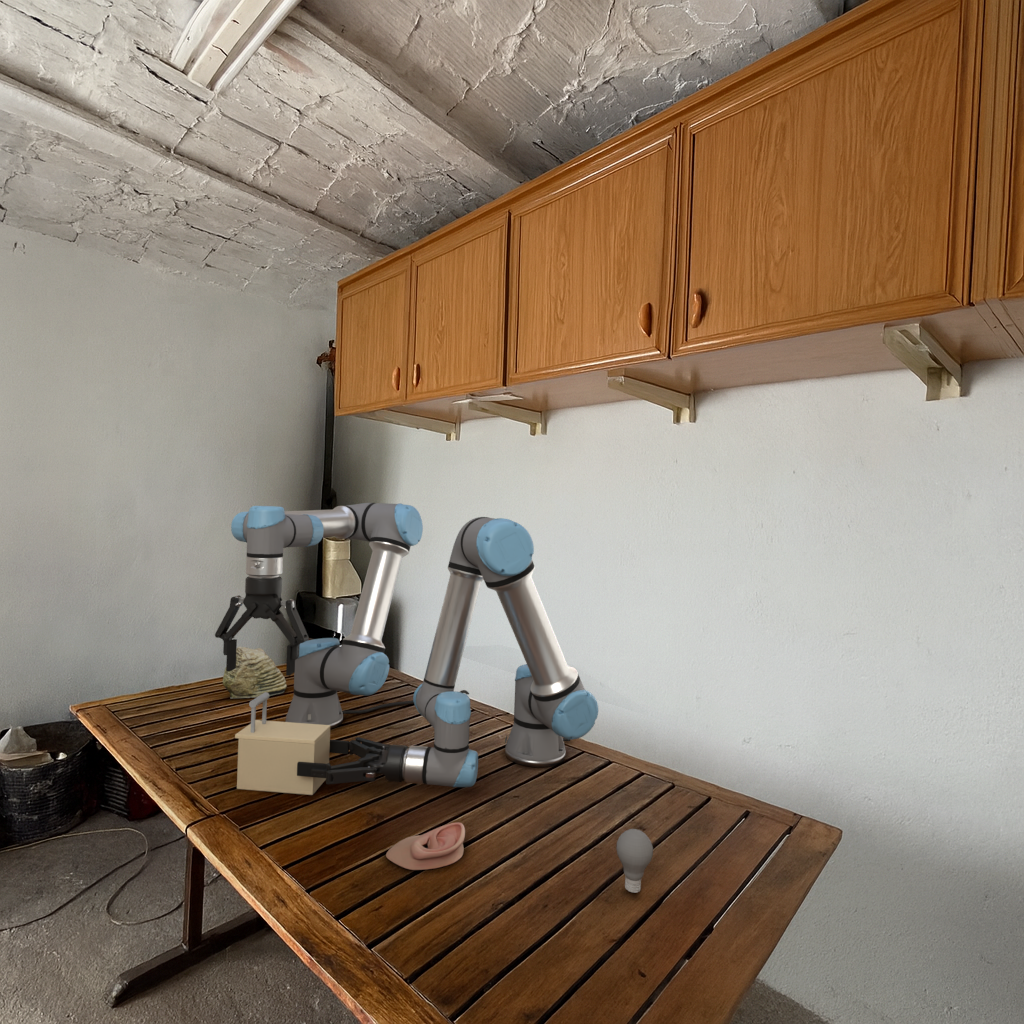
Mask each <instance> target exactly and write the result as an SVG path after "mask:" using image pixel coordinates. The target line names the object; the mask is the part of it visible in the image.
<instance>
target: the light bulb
mask: <svg viewBox="0 0 1024 1024" xmlns="http://www.w3.org/2000/svg"><path fill="white" fill-rule="evenodd" d="M615 849H616V854H617V857H618V859H619V861H620V863H621V865H622V867H623V873H624V874H623V875H624V876H625V878H624V888H625V890H627V891H628V892H630V893H634V894H635V893H639V892H640V891H641V889H642V887H641V886H642V879H643V877H644V875H645V871H646V868H647V867H648V866H649V864H650V863H651V861H652V859H653V855H654V847H653V843H652V841H651V838H649V836H648V835H647V834H646V833H645V832H643V831H642V830H641V829H636V828H629V829H627V830H625V831H623V832H622V833H621V834H620V835H619V837H618V839H617V841H616V847H615Z"/></svg>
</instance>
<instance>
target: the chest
mask: <svg viewBox="0 0 1024 1024" xmlns="http://www.w3.org/2000/svg"><path fill="white" fill-rule="evenodd" d="M330 740H331V729H329V730H328V731H327V732H326V733H325V734H324V735H323V736H322V737H321V738H320V739H319V740H318V741H317V742H316V743H315V744H306V743H293V742H279V741H266V740H253V739H239V738H238V747H237V770H236V771H237V772H236V773H237V775H236V790H246V791H257V792H271V793H283V794H296V795H308V796H313V795H314V794H315V793H316V792H317V790H319V788H320V787H321V786H322V785H323V783H324V782H326V778H318V777H305V776H297V763H298V762H311V763H324V764H327V763H330V753H329V752H330Z"/></svg>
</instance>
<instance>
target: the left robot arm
mask: <svg viewBox="0 0 1024 1024" xmlns="http://www.w3.org/2000/svg"><path fill="white" fill-rule="evenodd" d="M230 529H231V530H230V531H231V534H232V536H233V537H234V539H236V540H237V541H239V542H242V543H246V558H245V560H246V563H245V574H246V575H247V576H246V577H245V581H244V582H245V585H244V593H245V596H244V597H242V596H241V595H240V594H239V595H235V596H231V598H230V601H229V607H228V609H227V611H226V612H225V614H224V616H223V618H222V620H221V622H220V624H219V625H218V627H217V628H216V629H217V630H216V631H215V633H214V637H215V638H217V639H218V638H219V639H221V640H222V641H223V647H222V648H223V649H222V650H223V651H222V654H223V656H226V666H225V668H226V671H229V672H230V671H232V670H234V669H235V668H236V649H237V648H238V646H237V645H238V639H235V636H236V635H238V633H239V632H240V631H241V630H242V629H243V628H244V627H245V625H246V624H247V623H248V622H249V621H250V620H251V619H252V618H253V619H262V620H269V619H270V620H271V621H272V622H274V624H275V625H276V626H277V627H278V629H279V630H280V631H281V633H282V634H283V636H284V637H285V638H286V640H287V641H288V642H289V644H288V645H287V646H286V669H285V671H286V672H285V676H289V677H290V676H291V675H293V695H292V696H293V697H292V699H291V702H290V704H289V708H288V711H287V713H286V715H285V722H292V723H306V724H320V725H330V730H332V729H335V728H337V727H339V726H340V725H342V723H343V722H344V715H352V714H353V715H355V714H357V715H358V714H365V713H369V712H374V711H376V710H379V709H383V708H388V707H389V708H390V707H394V706H402V705H411V704H414V701H413V699H411V700H404V701H403V700H402V701H395V702H388V703H382V704H379V705H376V706H373V707H369V708H365V709H359V710H358V709H356V710H353V709H350V710H343V709H342V706H341V702H340V699H339V695H338V692H342V693H345V694H350V695H353V696H364V697H369V696H372V695H374V694H376V693H377V692H378V691H379V690H381V688H382V687H383V685H384V684H385V682H386V680H387V678H388V675H389V672H390V664H389V663H390V660H389V656H387V654H385V651H386V647H385V644H384V643H383V636H384V632H385V628H386V624H387V620H388V616H389V612H390V608H391V604H392V600H393V597H394V592H395V588H396V584H397V581H398V576H399V572H400V568H401V564H402V560H403V559H404V557H406V556H408V555H409V554H410V551H411V547H414V546H417V545H418V544H419V543H420V542H421V539H422V537H423V529H424V527H423V520H422V517H421V514H420V512H419V510H418V509H417V508H416V507H415V506H413V505H411V504H404V503H388V502H387V503H385V502H363V503H356V504H347V505H338V506H337V505H336V506H335V507H334V508H333V509H313V510H285V508H284V507H283V506H277V505H276V506H275V505H251V507H249V509H248V511H240V512H238V513H237V514H236V515H234V517H233V519H232V520H231V524H230ZM331 537H335V538H336V539H339V540H347V539H348V540H357V541H363V542H368V545H369V547H370V549H371V551H372V552H371V556H370V558H369V562H368V567H367V571H366V575H365V578H364V582H363V585H362V589H361V593H360V595H359V600H358V604H357V608H356V612H355V615H354V620H353V622H352V627H351V630H350V634H348V635H347V636H345V637H344V638H342V642H341V643H340V640H339V638H336V637H322V638H313V639H309V634H308V633H307V629H306V627H305V626H304V623H303V621H302V619H301V616H300V614H299V611H298V609H297V604H296V599H295V598H290V599H283V598H282V592H283V578H282V577H281V575H282V574H283V569H284V568H283V564H284V563H283V561H284V560H283V559H284V549H285V548H301V547H304V548H308V547H312V546H316V545H318V544H319V543H320V542H321V541H322V539H323V538H331ZM243 605H244V607H245V609H246V610H245V611H244V612H243V613H242V614H241V615H240V618H238V620H237V621H236V622H235V623H234V624H233V625H232V623H233V621H234V619H235V618H236V616H237V614H238V612H239V610H240V608H241V607H242V606H243ZM282 607H283V609H284V610H285V612H286V615H287V617H288V619H289V622H290V623H289V622H288V621H287V619H286V618H285V615H284V614H283V612H282V610H281V608H282ZM340 644H341V645H340ZM459 692H461V693H465V694H466V695H470V692H469V691H468V690H465V689H462V690H460V691H459Z"/></svg>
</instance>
